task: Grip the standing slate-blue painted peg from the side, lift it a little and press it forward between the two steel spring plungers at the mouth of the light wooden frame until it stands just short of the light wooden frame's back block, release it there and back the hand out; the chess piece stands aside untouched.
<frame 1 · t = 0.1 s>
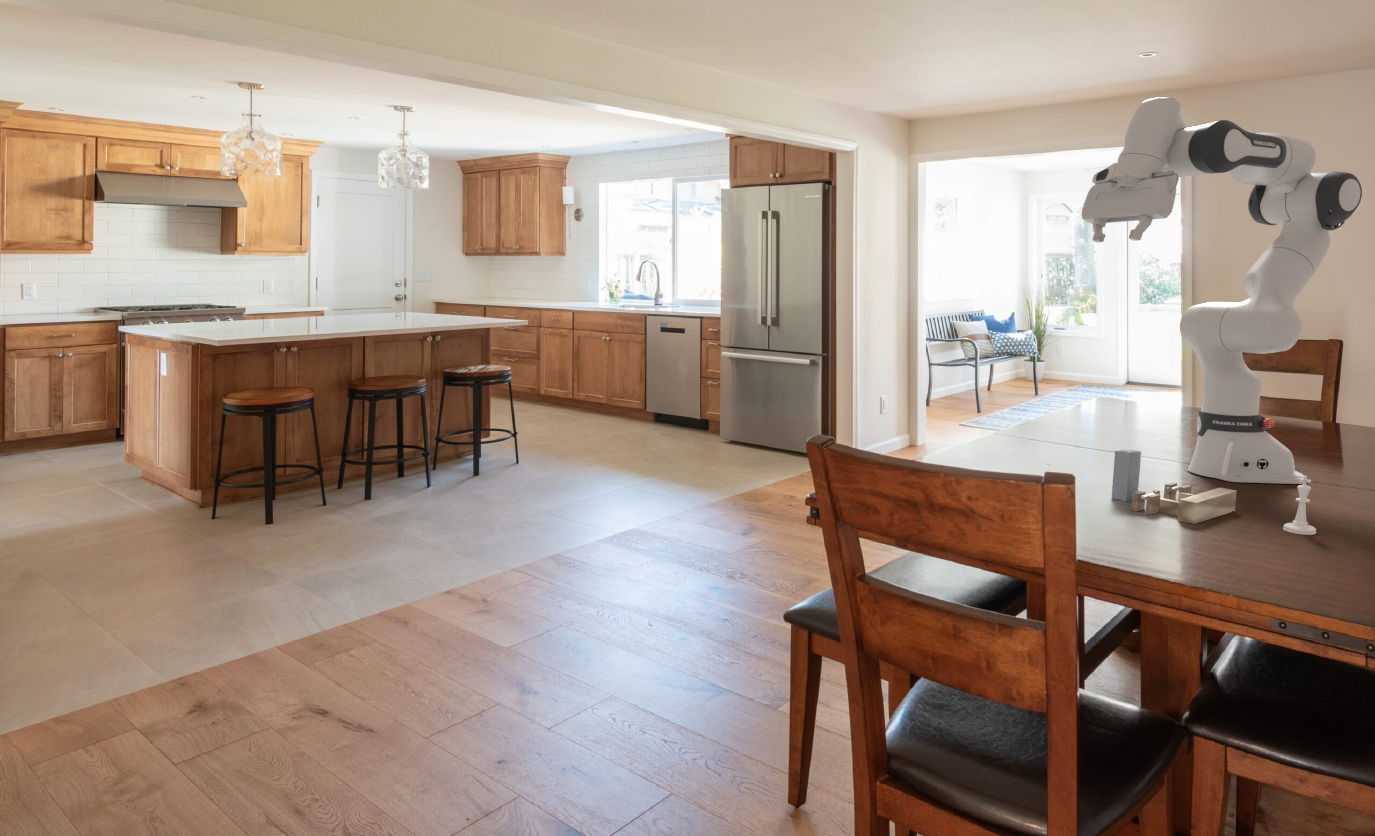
hand: (1115, 240, 180), 52 cm above the table, tool tilted 20°, fingers open, 8 cm apart
plunger a: (1174, 489, 175), point 3 cm above the table, slide at 0.0 cm
plunger b: (1150, 495, 170), point 3 cm above the table, slide at 0.0 cm
peg: (1126, 499, 179), on the table
chess piece: (1299, 532, 156), on the table
light wooden frame: (1179, 509, 170), on the table
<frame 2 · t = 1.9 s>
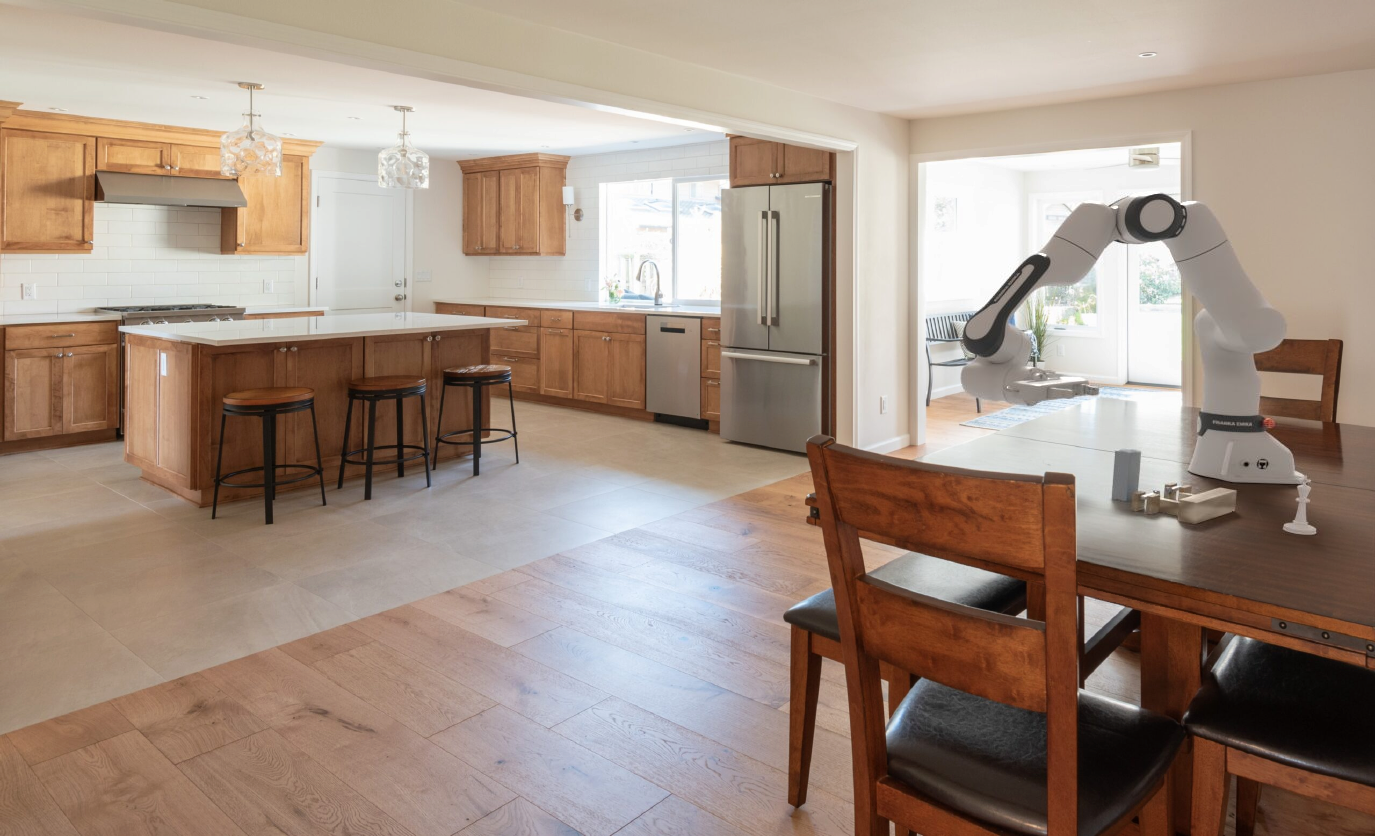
hand: (1085, 393, 186), 20 cm above the table, tool horizontal, fingers open, 8 cm apart
nothing on the table moved.
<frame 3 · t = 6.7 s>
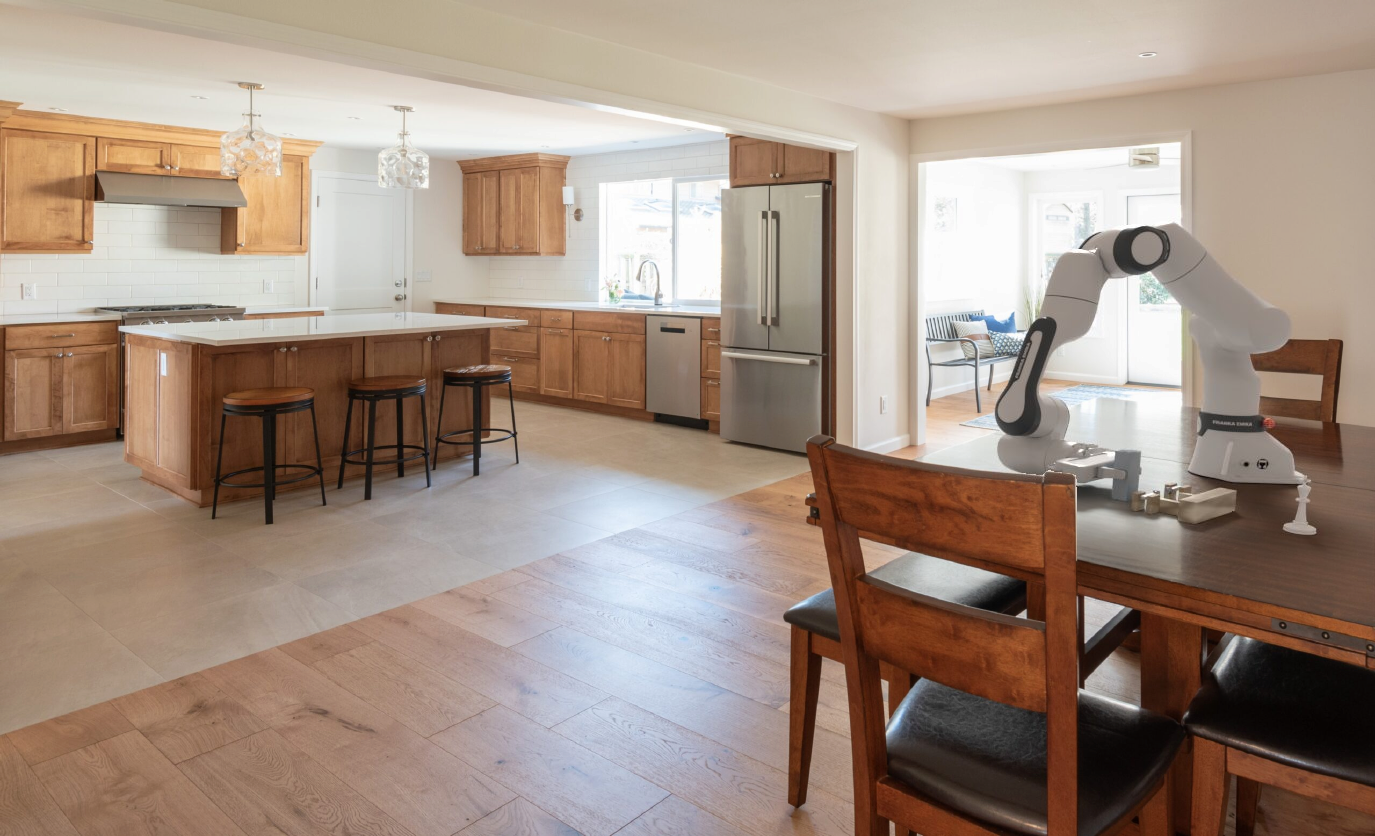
hand: (1132, 473, 177), 6 cm above the table, tool horizontal, fingers closed on peg, 4 cm apart
peg: (1126, 499, 179), on the table, touching gripper
everything else where it was.
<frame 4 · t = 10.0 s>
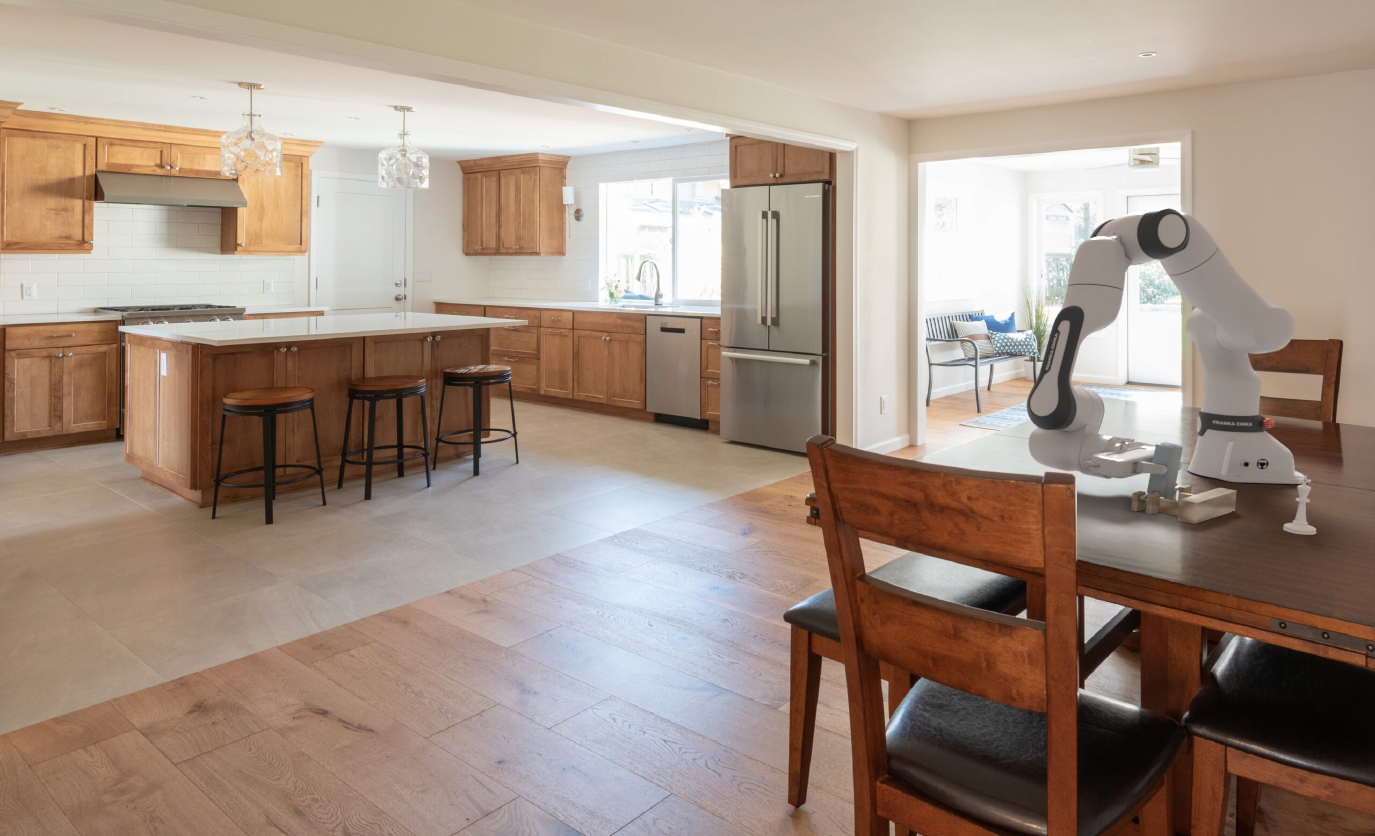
hand: (1173, 468, 171), 8 cm above the table, tool horizontal, fingers closed on peg, 4 cm apart
plunger a: (1174, 488, 175), point 3 cm above the table, slide at 0.3 cm
peg: (1162, 494, 173), point 2 cm above the table, tilted 6°, touching gripper
everything else where it was.
when the fingers open (6 cm above the table, at t = 12.3 s): peg stays where it is, on the table.
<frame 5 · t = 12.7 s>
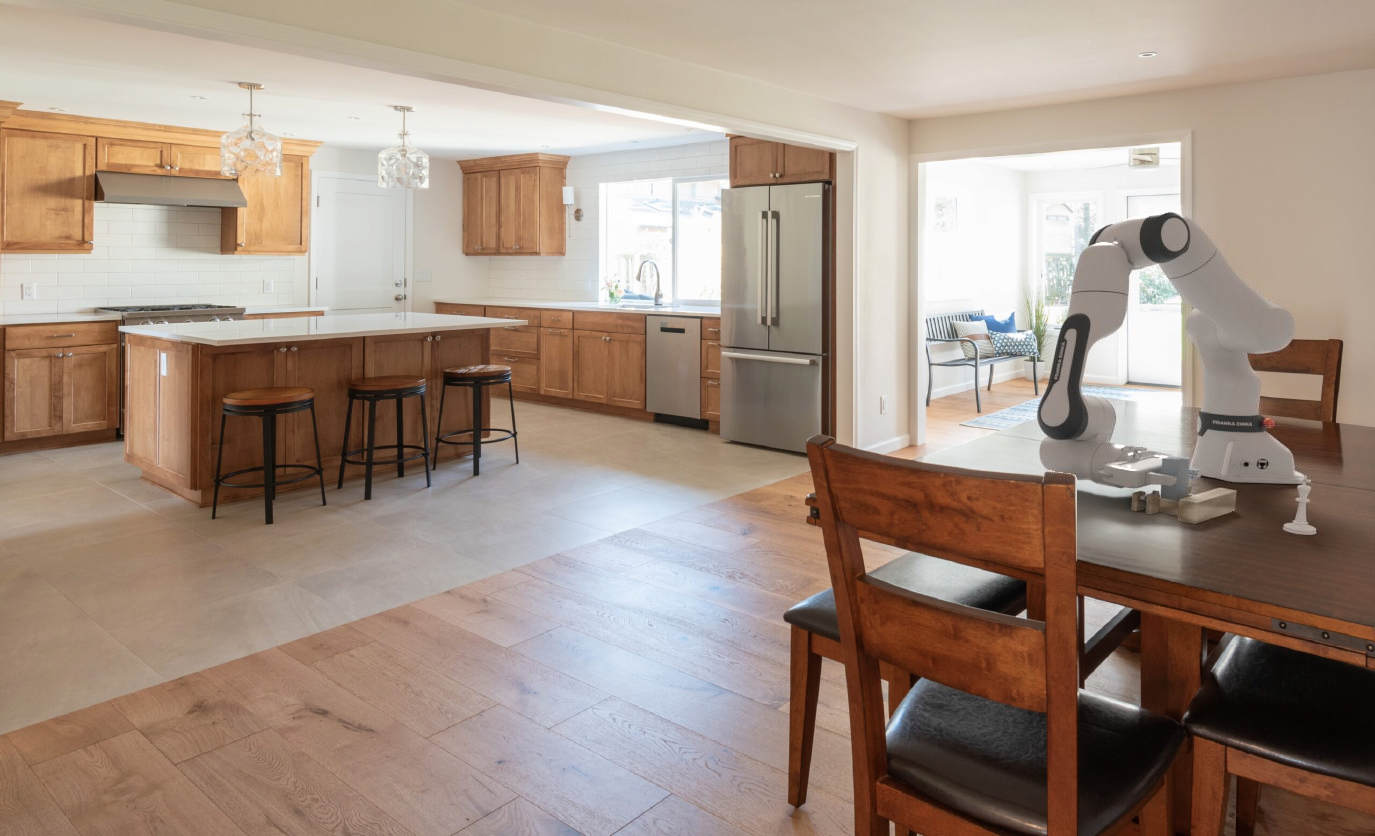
hand: (1187, 478, 169), 6 cm above the table, tool horizontal, fingers open, 8 cm apart
peg: (1175, 508, 171), on the table
everything else where it was.
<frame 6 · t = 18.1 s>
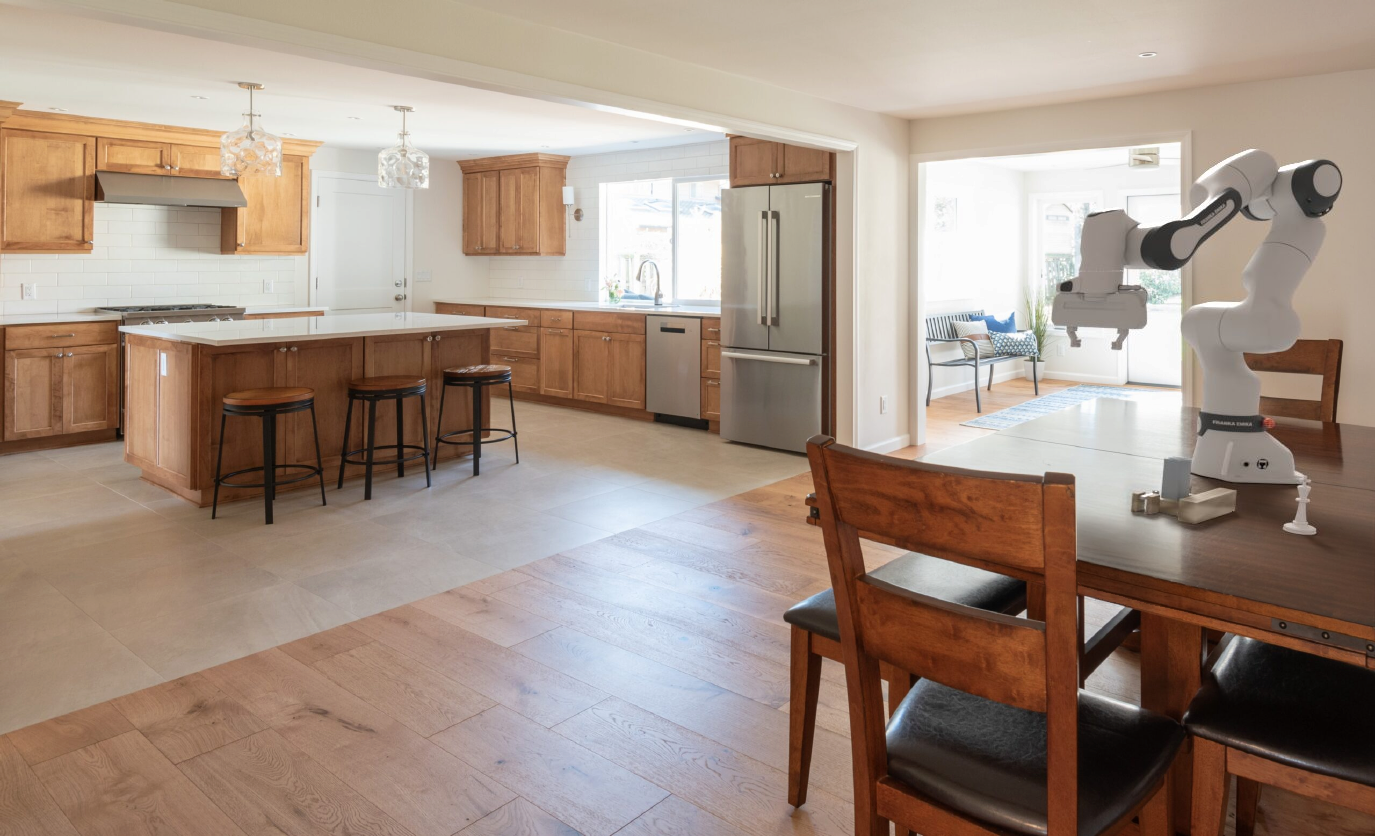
hand: (1095, 348, 193), 29 cm above the table, tool pointing down, fingers open, 8 cm apart
nothing on the table moved.
at the end: peg 0.7 cm from the light wooden frame (horizontally); peg tilted 0°; the gripper is holding nothing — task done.
